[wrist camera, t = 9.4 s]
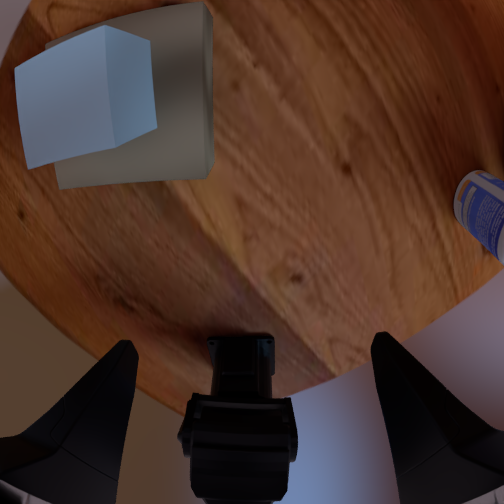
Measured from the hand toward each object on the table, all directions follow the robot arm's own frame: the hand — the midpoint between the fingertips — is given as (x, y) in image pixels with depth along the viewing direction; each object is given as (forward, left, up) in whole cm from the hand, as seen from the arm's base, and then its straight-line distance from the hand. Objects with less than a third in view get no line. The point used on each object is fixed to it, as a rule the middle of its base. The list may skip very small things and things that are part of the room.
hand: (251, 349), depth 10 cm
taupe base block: (+9, +7, -12) cm, 17 cm away
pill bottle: (+1, -19, -12) cm, 23 cm away
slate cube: (+9, +7, -8) cm, 14 cm away
